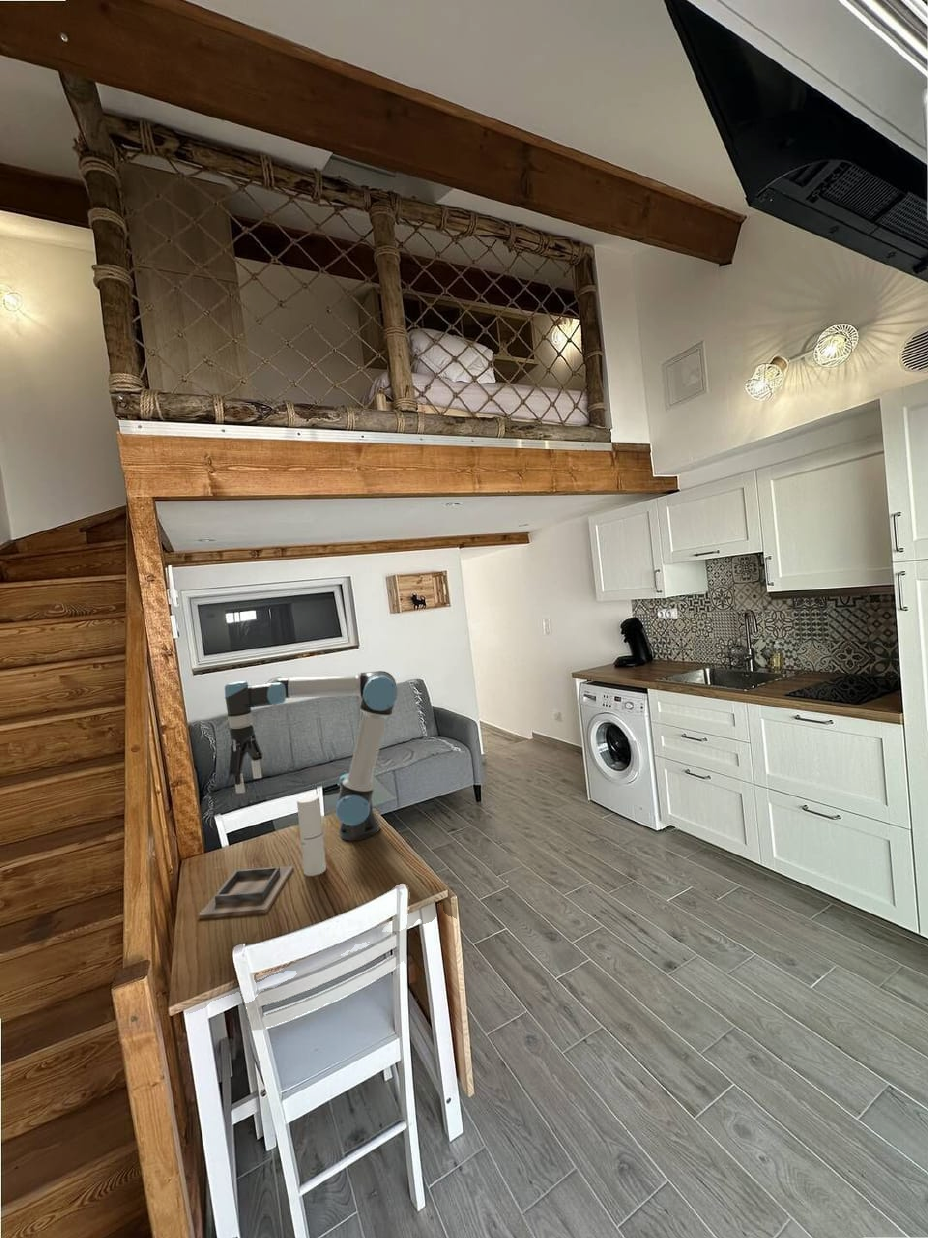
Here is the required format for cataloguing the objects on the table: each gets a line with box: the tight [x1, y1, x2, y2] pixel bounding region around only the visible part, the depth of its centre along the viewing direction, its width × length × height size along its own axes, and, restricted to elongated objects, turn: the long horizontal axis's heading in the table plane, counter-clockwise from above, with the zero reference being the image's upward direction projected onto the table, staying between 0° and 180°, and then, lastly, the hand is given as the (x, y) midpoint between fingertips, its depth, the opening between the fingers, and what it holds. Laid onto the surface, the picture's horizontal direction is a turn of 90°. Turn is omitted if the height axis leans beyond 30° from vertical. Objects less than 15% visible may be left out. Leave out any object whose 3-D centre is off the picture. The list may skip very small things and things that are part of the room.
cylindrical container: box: [296, 793, 327, 877], centre depth 170 cm, size 7×7×25 cm
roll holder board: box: [198, 865, 294, 920], centre depth 160 cm, size 20×24×4 cm
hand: (249, 785), depth 177 cm, fingers open, 13 cm apart
